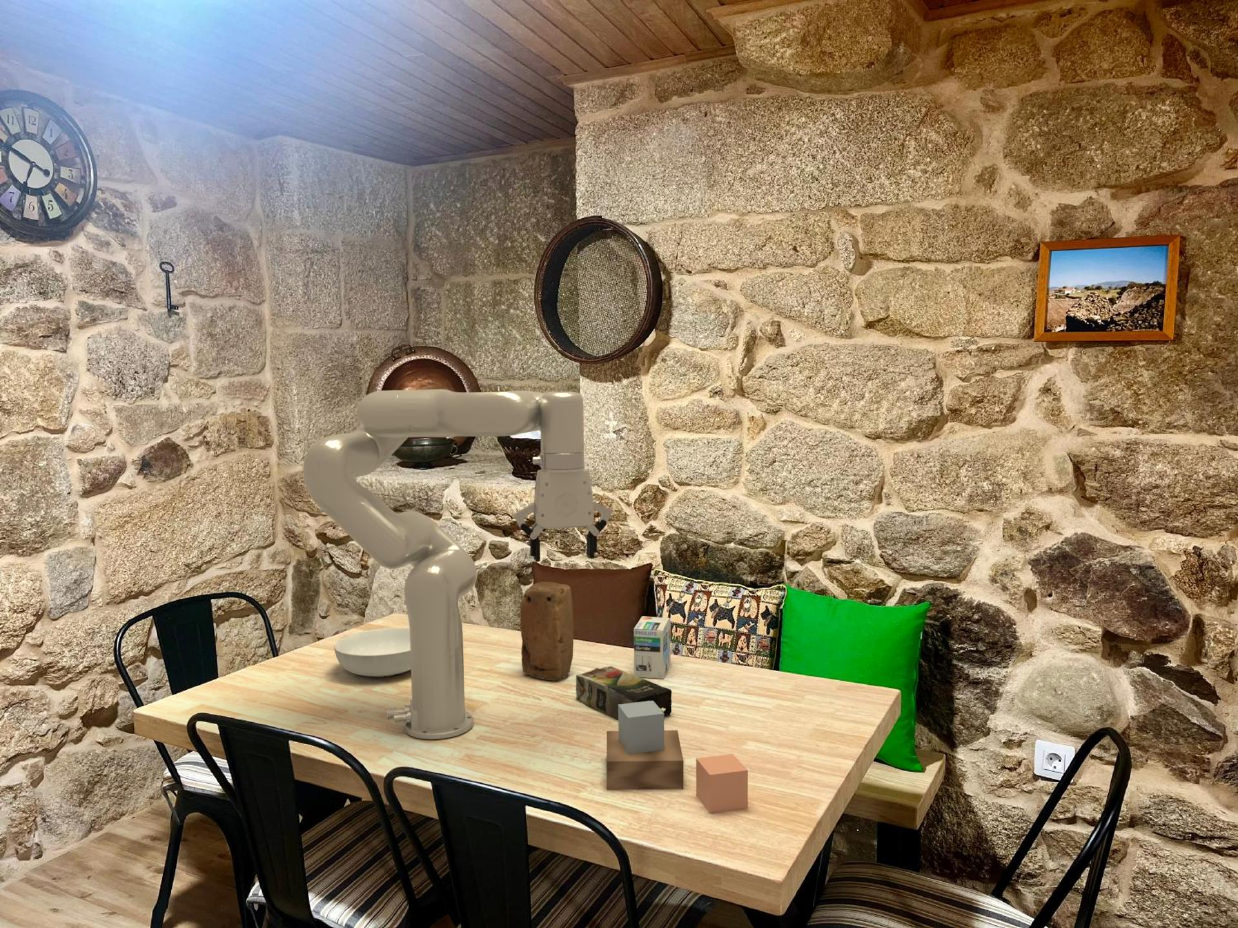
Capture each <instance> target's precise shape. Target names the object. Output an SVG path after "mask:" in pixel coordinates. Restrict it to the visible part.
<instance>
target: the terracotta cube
mask: <svg viewBox="0 0 1238 928" xmlns="http://www.w3.org/2000/svg"><path fill="white" fill-rule="evenodd" d="M748 776H749V769H747V768H746V766H745V765H744V764H743V763H742V762H741V761H740V760H739V758H737V756H736V755H734V753H729V754H721V755H714V756H711V755H710V756H704V757H697V758H696V759H695V785H696V786H695V793H696V794H695V796H696V797H697V798H698V800H699V801H700V802H701V804H702V805H703V807H704V808H705V809H706V811H707V812H708V813H709V814H717V813H723V812H731V811H737V810H738V811H739V810H746V809H748V802H749V801H748V800H749V798H748V796H749V794H748V792H749V790H748V788H749V786H748V785H749V784H748V783H749V777H748Z"/></svg>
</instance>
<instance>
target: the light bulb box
mask: <svg viewBox="0 0 1238 928" xmlns="http://www.w3.org/2000/svg"><path fill="white" fill-rule="evenodd" d="M671 655H672V654H671V618H669V617H658V616H644V615H643V616H641V617H640V619H639V621H638V622H637V623H636V625H635V626H634V628H633V668H634V669H633V675H635V676H636V677H639V678H643V679H644V678H648V679H660V680H663V679H665V676H666V675H667V672H668V671H669V669H670V666H671V665H672V664H671Z"/></svg>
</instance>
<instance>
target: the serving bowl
mask: <svg viewBox="0 0 1238 928" xmlns="http://www.w3.org/2000/svg"><path fill="white" fill-rule="evenodd" d="M333 647H334V648H333V649H334V653H335V657H336V660H337V661H338V663H339V664H340V665H341V667H342V668H343V669H345V670H347V671H348V672H349V673H351V674H352V673H353V674H354V675H358V676H365V677H372V676H373V677H372V678H385V677H384V676H386V677H392V676H396V675H400V674H402V673H405V672H408V671H411V651H410V629H409V627H386V628H385V627H383V628H376V629H370V630H369V629H368V630H364V631H360V632H357V633H352V634H350V635H347V636H344V637H343V638H341V639H339V640H338V641H336V643H334V645H333ZM395 674H396V675H395Z"/></svg>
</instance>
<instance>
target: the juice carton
mask: <svg viewBox="0 0 1238 928" xmlns="http://www.w3.org/2000/svg"><path fill="white" fill-rule="evenodd" d="M672 692H673V691H672V689H671V688H668V687H664V686H661V685H660V684H658V683H656V682H655V683H654V682H653V681H650V680H647V679H644V678H643V677H636V676H635V675H634V674H631V673H628V672H627V671H625V670H622V669H619V668H617V667H614V666H612V665H611V666H610V665H609V666H604V667H601V668H599V667H596V668H593V669H591V670H589V671H586V672H584V673H581V674H580V673H579V674H576V675H575V695H576V696H575V700H576V701H577V702H579V703H581V704H582V703H583V705H585V706H587V707H589V708H593V709H594V708H595V710H597V711H599V712H601V713H603V714H604V715H607V716H608V717H611V718H613V719H615V720H617V721H618V704H627V703H636V702H645V701H654V702H655V704H656V705H657V706H658V707H659V708H660V709H661V710H663V709H664V711H662V712H663V713H664V717H665V716H670V715H671V714H672V703H673V702H672V701H673V700H672V694H673V693H672Z"/></svg>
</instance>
